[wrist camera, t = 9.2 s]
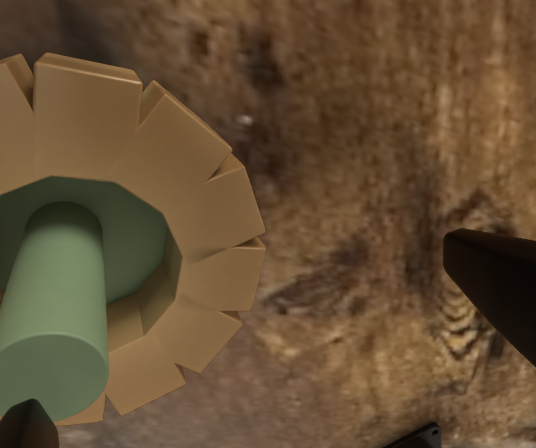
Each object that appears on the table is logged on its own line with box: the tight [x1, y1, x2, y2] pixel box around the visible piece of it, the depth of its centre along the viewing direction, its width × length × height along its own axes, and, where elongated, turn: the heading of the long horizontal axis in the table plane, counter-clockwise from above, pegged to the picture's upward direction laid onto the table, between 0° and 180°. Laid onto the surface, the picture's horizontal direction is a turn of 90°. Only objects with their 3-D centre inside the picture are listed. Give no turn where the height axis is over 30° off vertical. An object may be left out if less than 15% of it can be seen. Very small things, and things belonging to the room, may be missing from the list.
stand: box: [0, 92, 168, 422], centre depth 12 cm, size 8×8×8 cm
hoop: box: [0, 53, 266, 426], centre depth 14 cm, size 12×12×3 cm
